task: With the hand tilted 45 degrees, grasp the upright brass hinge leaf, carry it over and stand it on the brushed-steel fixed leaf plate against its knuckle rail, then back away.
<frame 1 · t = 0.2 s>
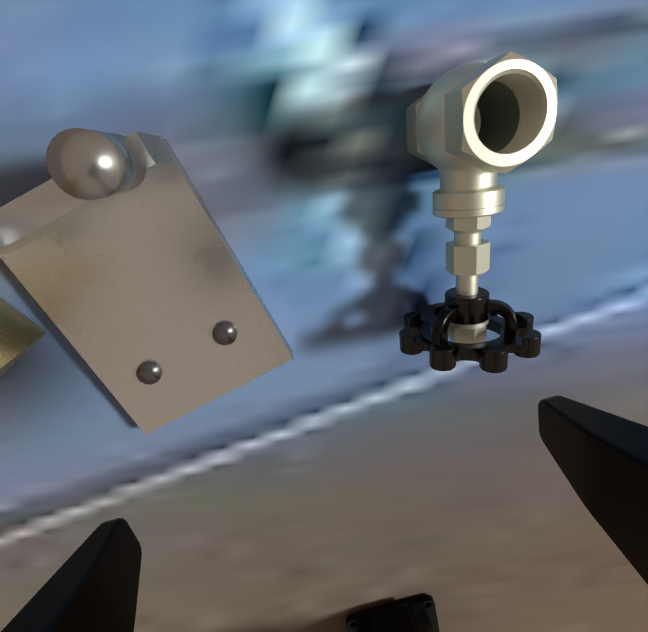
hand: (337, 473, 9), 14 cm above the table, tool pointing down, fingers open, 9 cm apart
fixed leaf: (157, 297, 22), on the table
valve: (438, 209, 22), on the table
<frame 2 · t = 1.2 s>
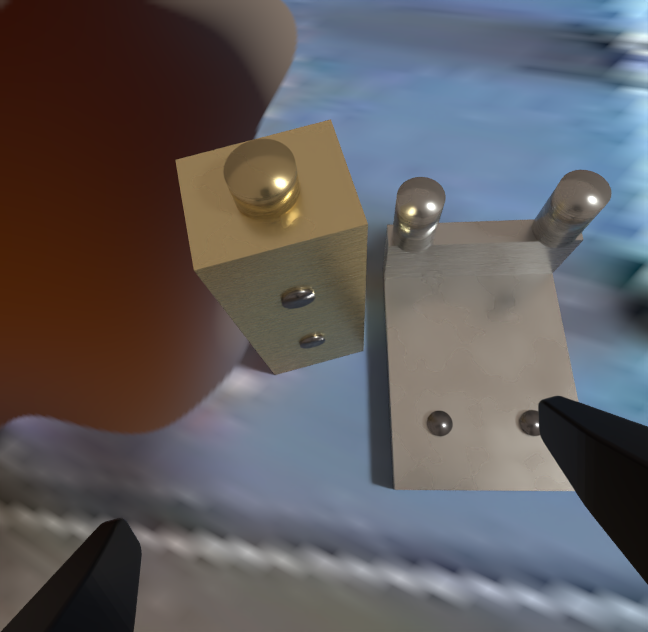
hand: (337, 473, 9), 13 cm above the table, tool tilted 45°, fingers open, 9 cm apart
loose leaf: (310, 329, 24), on the table
fixed leaf: (473, 367, 23), on the table
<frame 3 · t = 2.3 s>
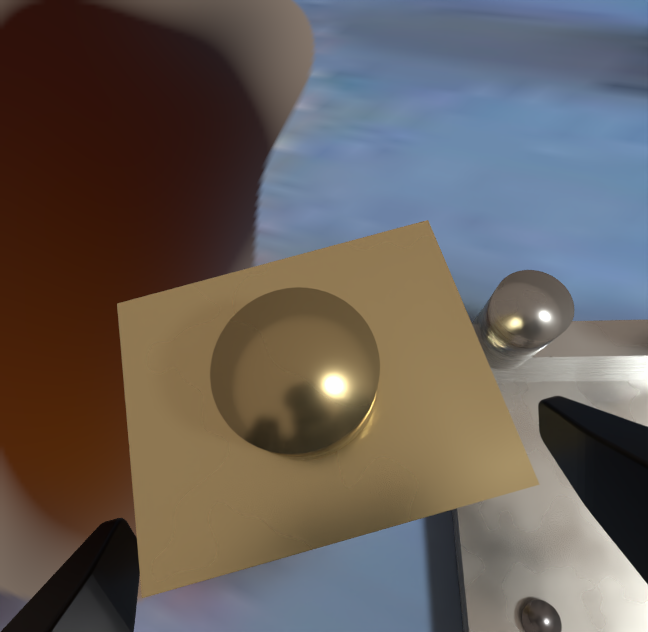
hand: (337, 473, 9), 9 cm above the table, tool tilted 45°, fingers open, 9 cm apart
loose leaf: (341, 452, 18), on the table
fixed leaf: (576, 518, 16), on the table
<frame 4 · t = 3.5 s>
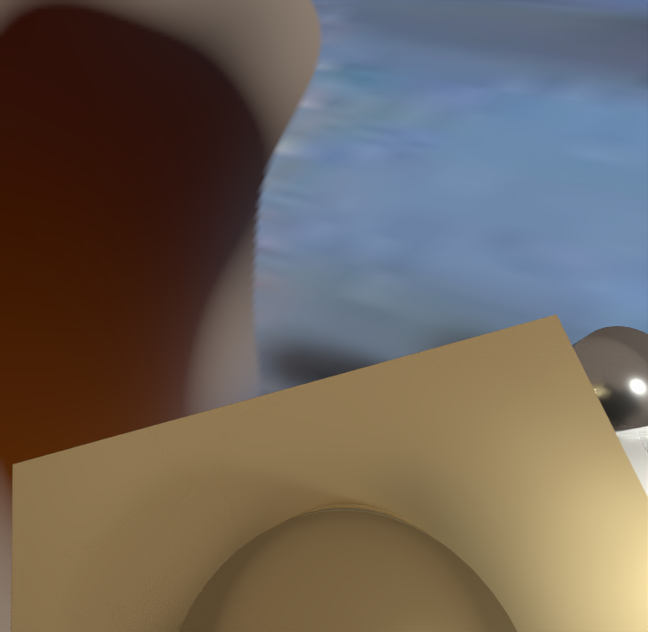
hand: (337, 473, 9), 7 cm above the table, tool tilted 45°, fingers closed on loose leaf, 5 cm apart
loose leaf: (357, 518, 15), on the table, touching gripper
fixed leaf: (643, 606, 13), on the table
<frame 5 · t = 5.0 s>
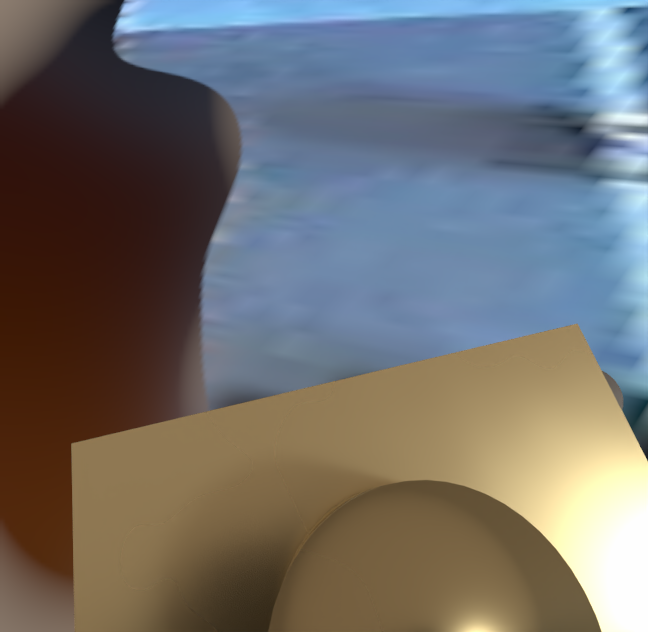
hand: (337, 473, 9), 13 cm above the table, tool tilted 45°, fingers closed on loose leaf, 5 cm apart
loose leaf: (336, 529, 15), point 6 cm above the table, tilted 6°, touching gripper
when the fingers open (9 cm above the table, at t = 6.8 s): loose leaf stays where it is, resting on fixed leaf.
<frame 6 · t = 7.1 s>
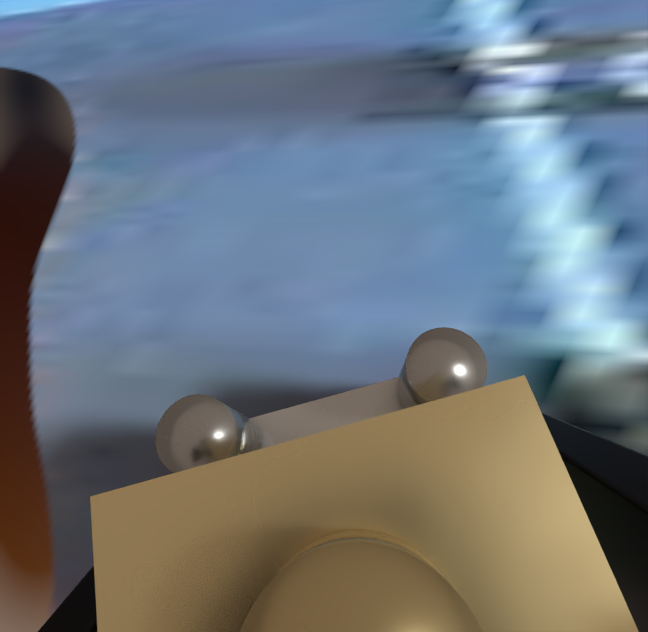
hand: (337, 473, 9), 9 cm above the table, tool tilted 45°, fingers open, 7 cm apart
loose leaf: (359, 524, 16), point 1 cm above the table, touching fixed leaf
fixed leaf: (375, 580, 16), on the table
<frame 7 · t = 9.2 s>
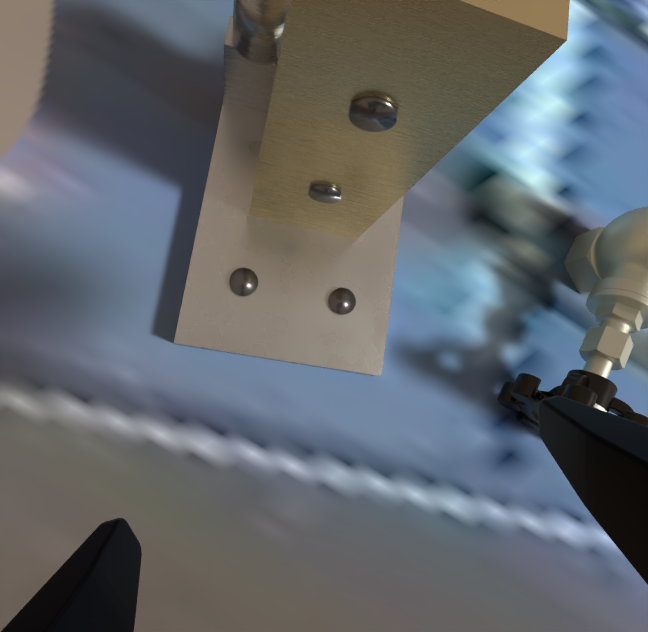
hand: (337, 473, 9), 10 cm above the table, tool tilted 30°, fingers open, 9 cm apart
loose leaf: (310, 186, 20), point 1 cm above the table, touching fixed leaf
fixed leaf: (300, 234, 20), on the table
valve: (561, 324, 24), on the table
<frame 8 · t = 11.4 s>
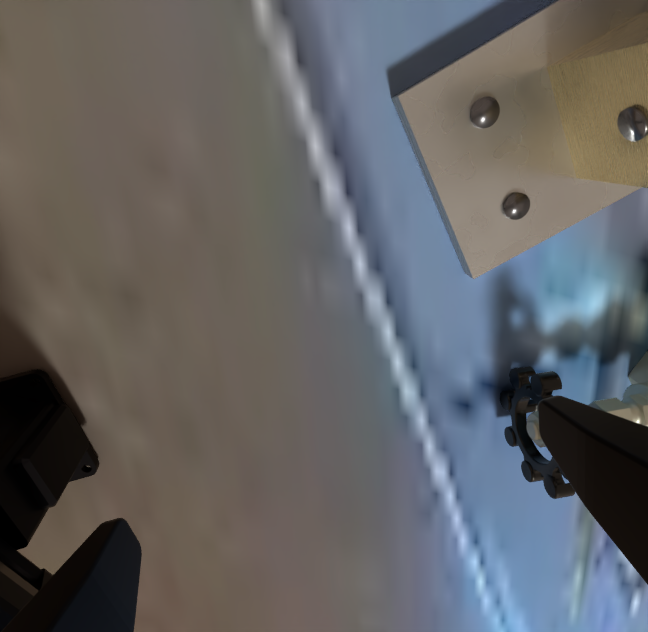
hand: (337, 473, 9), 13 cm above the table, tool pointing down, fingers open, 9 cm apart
loose leaf: (605, 101, 19), point 1 cm above the table, touching fixed leaf
fixed leaf: (548, 126, 20), on the table
valve: (592, 378, 26), on the table
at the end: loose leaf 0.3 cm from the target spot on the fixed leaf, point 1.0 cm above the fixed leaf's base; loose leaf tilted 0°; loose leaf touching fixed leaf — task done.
